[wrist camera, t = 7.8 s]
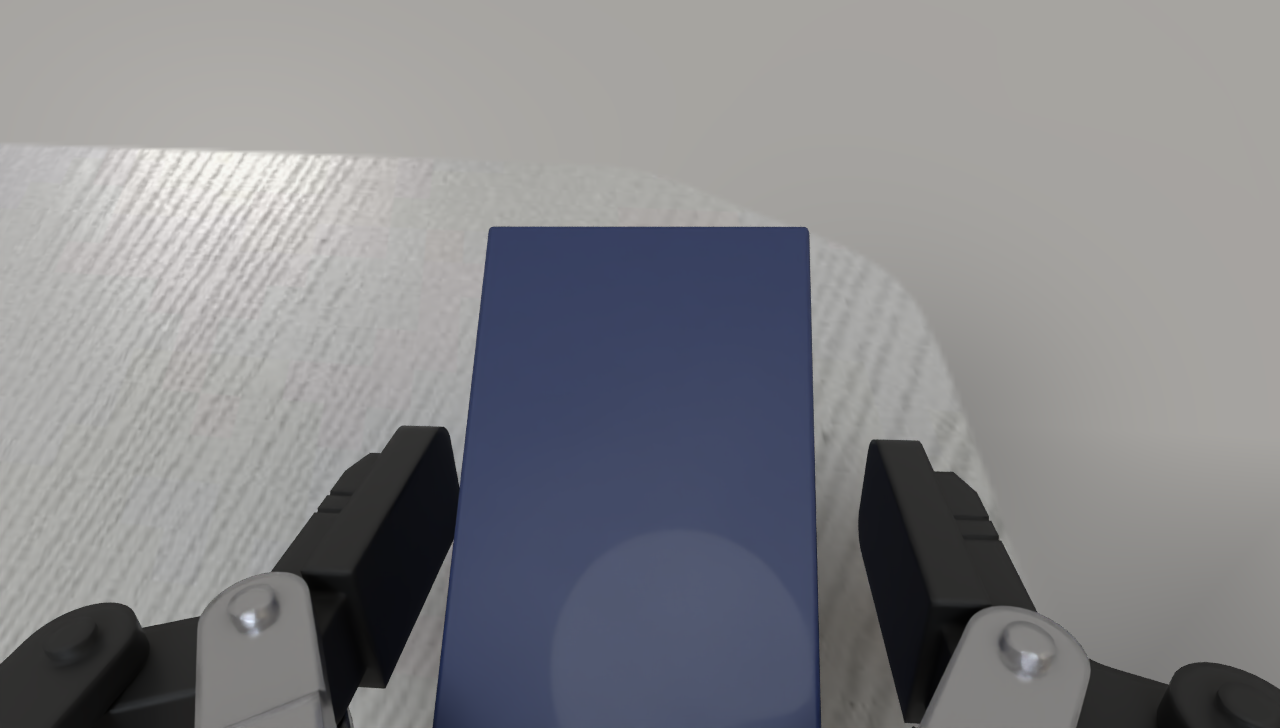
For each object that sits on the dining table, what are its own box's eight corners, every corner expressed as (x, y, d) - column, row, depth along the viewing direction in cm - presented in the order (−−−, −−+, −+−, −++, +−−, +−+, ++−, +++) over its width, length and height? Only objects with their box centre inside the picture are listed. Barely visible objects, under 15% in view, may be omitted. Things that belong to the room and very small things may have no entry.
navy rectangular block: (752, 414, 21) (810, 224, 10) (752, 762, 19) (829, 1051, 7) (601, 411, 22) (487, 224, 10) (581, 750, 19) (399, 1007, 8)
